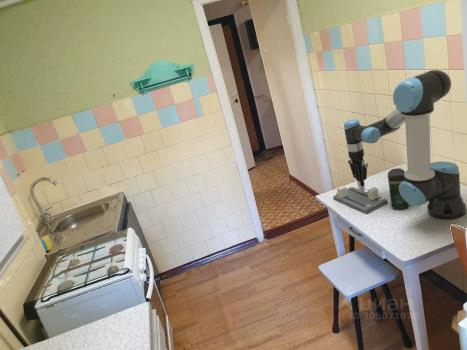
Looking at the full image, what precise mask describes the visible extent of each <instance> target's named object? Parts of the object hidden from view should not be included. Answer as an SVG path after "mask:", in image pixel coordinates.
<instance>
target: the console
mask: <svg viewBox="0 0 467 350" xmlns="http://www.w3.org/2000/svg"><path fill="white" fill-rule="evenodd" d="M347 194H348V196H345V197H343V198H340V197H338V192H336V193H335V195H333V196H332V198H333V200H334V201H336V202H338V203H340V204H343V205H345V206H347V207H350V208H352V209H354V210H357V211H358V212H360V213H362V214H364V215H368V214H369V213H372V212H373V211H375V210H377V209H380V208H382V207H385V206H387V204H389V203H388V202H389V200H388V199H387V198H383V197H381V196H379V198H377V199H375V200H371V199H369V197H368V191H365V190H364V191H362V192H359V188H357V187H354V186H353V187H352V186H348V187H347Z"/></svg>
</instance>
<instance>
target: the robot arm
mask: <svg viewBox="0 0 467 350" xmlns="http://www.w3.org/2000/svg"><path fill="white" fill-rule="evenodd" d="M451 88H452V80H451V78H450V75H448V74H447V72H445V71H442V70H439V69H432V70H428V71H425V72H424V73H421V74H418V75H415V76H413V77H408V78H406V79H405V80H402V81H401V82H399V83H398V84H397V86H395V88H394V90H393V93H392V101H393V104H394V106H395V108H394V109H393V110H392V111H391V112H390V113H389V114H387V115H386V116H385V117H384V118H382V119H380V120H378V121H376V122H373V123H371V124H368V125H361V123H360V121H359V120H358V119H356V118H354V119H348V120H346V121H345V122H344V123H343V126H344V135H345V140H346V147H347V151H348V153H347V154H348V157H349V160H348V161H347V162H348V165H349V167H350V170H351V173H352V177H353V178H354V179H356V183H357V187H358V188H357V189H359V192H362V191H365V190H366V189H365V180H367V179H368V175H367V174H368V165H369V164H368V163H366V162H365V160H364V156H365V152H364V151H365V150H364V145H363V143H366V144H376V143H377V142H378V141H379V140H380V139H381V138H382V137H384V136H386V135H389V134H391V133H394V132H396V131H398V130H400V129H401V126H402V125H404V124H405V141H406V160H407V161H406V162H407V163H406V164H407V170H406V171H405V173H404V182H402V183H401V184H400V185H399V192H400V195H401V196H402V198H403V199H404V200H405V201H406V202H407V203H409V205H411V206H413V207H414V206H415V207H419V206H421V205H425V204H426V203H428V204H427V207H426V208H427V213H428V215H429V216H431V217H433V218H436V219H440V220H453V219H454V220H455V219H458V218H461V217H463V216H464V215H466V213H467V205H466V204H465V202H464V199H463V197H462V195H461V180H460V170H459V166H458V165H457V164H456V163H455V162H450V161H434V162H431V160H432V159H431V128H430V127H431V126H430V121H431V119H430V115H431V114H432V113H433V112H434V111H435V109H434V108H435V105H434V104H435V103H437V102H438V101H439V100H441V99H442V98H444V97H446V96H447V95H448V94H449V92H450V90H451Z"/></svg>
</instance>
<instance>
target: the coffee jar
mask: <svg viewBox="0 0 467 350" xmlns="http://www.w3.org/2000/svg"><path fill="white" fill-rule="evenodd" d="M405 172H406V171H405V170H404V169H402V168H401V167H400V168H391V169H390V170H389V171H388V173H387V181H388V189H389V190H388V191H389V195H390V205H391V208H392V209H394V210H400V211H401V210H405V209H408V208H409V205H410V204H409V203H407V202H406V201H405V200H404V199H403V198H402V196H401V195H400V192H399V185H400V184H401V183H402V182H404V173H405Z"/></svg>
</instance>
